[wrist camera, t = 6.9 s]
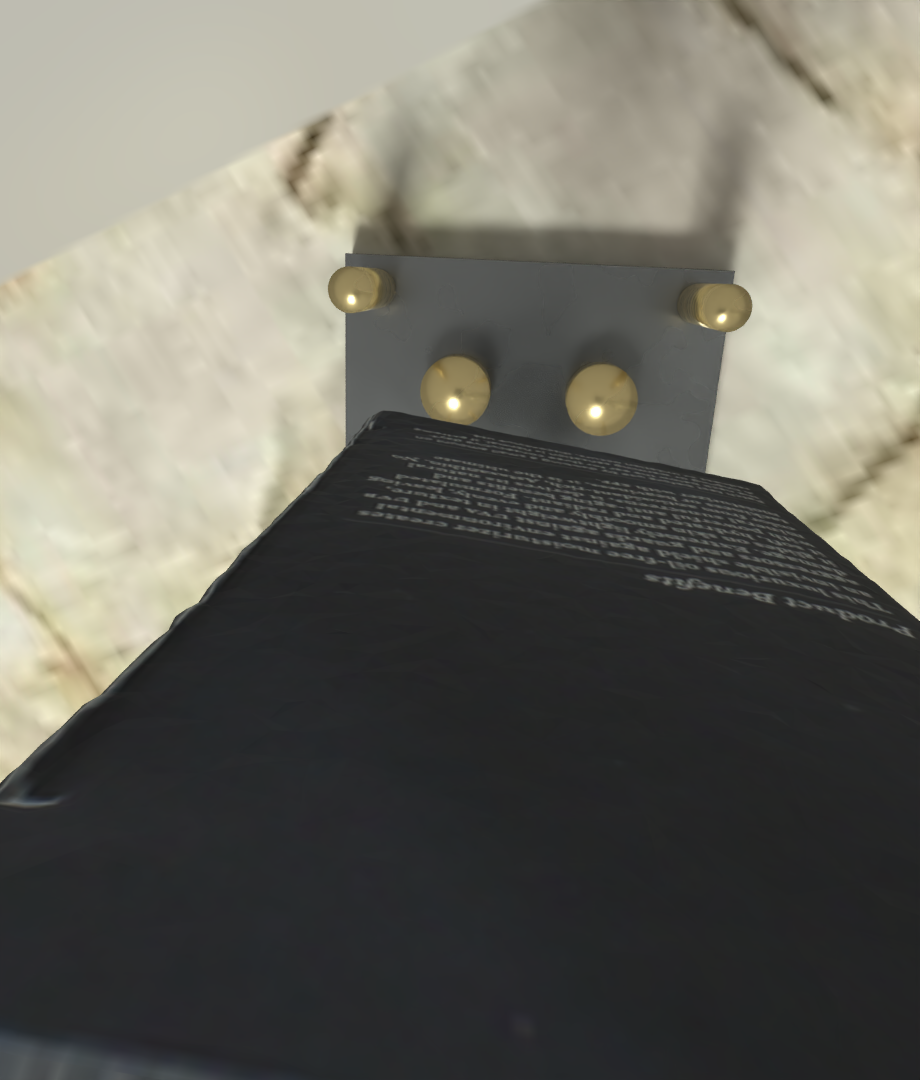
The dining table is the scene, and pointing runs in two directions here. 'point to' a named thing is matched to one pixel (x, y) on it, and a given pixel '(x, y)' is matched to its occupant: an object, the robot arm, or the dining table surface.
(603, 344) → the chassis
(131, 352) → the dining table surface
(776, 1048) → the small box
